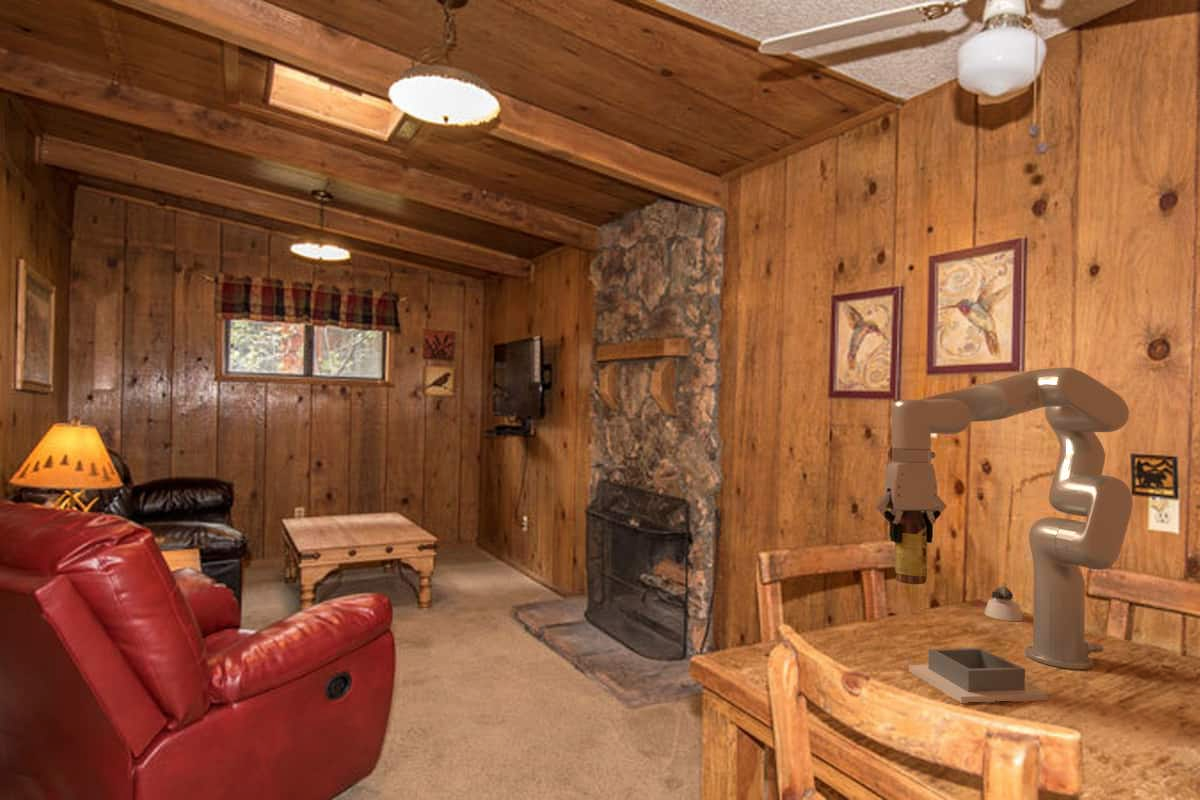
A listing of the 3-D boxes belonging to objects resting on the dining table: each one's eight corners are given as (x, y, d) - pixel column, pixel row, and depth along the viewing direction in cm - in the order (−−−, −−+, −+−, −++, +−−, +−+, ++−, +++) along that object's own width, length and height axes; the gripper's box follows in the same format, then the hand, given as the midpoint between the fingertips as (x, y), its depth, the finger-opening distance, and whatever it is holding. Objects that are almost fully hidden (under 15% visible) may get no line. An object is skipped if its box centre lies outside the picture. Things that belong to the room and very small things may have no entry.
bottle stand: (986, 668, 144) (986, 644, 144) (1046, 700, 128) (1047, 672, 128) (909, 671, 141) (909, 646, 141) (961, 703, 125) (961, 675, 125)
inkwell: (1021, 615, 187) (1021, 579, 187) (1028, 632, 171) (1029, 593, 171) (983, 610, 191) (983, 574, 191) (987, 626, 175) (987, 588, 175)
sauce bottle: (930, 586, 139) (930, 490, 140) (898, 584, 140) (898, 489, 141) (922, 579, 145) (922, 487, 146) (891, 577, 147) (891, 486, 147)
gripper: (937, 456, 148) (937, 538, 148) (864, 456, 146) (863, 539, 146) (960, 458, 141) (960, 544, 141) (882, 458, 139) (882, 545, 138)
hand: (911, 541), depth 143 cm, fingers closed on sauce bottle, 6 cm apart
